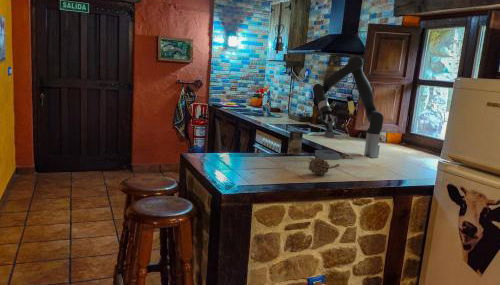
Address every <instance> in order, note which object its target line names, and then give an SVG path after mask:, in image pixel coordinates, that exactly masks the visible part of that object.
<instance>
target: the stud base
mask: <svg viewBox="0 0 500 285" xmlns="http://www.w3.org/2000/svg"><path fill="white" fill-rule="evenodd" d="M339 160H354V158H353V157H350V156H348V155H347V154H346V153H345V152H343V153H342V155H340V158H339Z"/></svg>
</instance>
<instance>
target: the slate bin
mask: <svg viewBox="0 0 500 285" xmlns="http://www.w3.org/2000/svg"><path fill="white" fill-rule="evenodd" d="M340 156H341V154H340V153H337V152H335V151H332V150H329V149H326V150H321V149H319V150H318V149H314V159H315V158H316V159H318V158H321V160H322V159H324V161H325V162H326V161H327V160H330V161H331V160H332V161H334V160H335V161H338V160H340V159H339V158H340Z"/></svg>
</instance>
